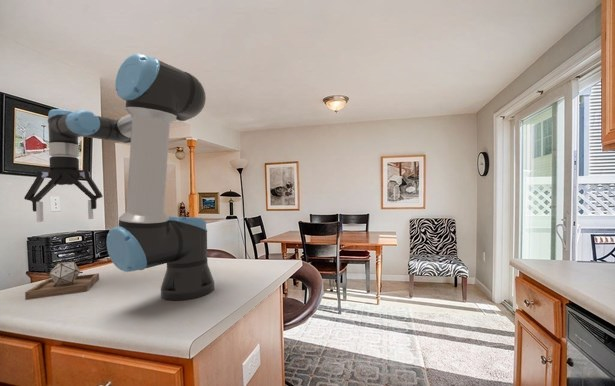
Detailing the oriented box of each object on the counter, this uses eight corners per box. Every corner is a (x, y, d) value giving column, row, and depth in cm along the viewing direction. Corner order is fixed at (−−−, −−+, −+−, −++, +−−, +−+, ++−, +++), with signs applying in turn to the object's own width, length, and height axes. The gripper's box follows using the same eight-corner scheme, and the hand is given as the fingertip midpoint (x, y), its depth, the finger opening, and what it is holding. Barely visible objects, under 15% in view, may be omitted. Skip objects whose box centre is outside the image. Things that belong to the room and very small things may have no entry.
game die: (66, 297, 94) (58, 277, 89) (45, 287, 96) (35, 268, 90) (91, 277, 102) (84, 258, 96) (71, 268, 103) (63, 249, 97)
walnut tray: (86, 291, 92) (86, 284, 92) (25, 299, 86) (25, 292, 86) (99, 279, 106) (98, 273, 106) (47, 285, 100) (46, 279, 100)
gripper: (110, 159, 105) (112, 217, 105) (21, 157, 95) (23, 222, 95) (106, 156, 98) (108, 218, 98) (8, 154, 88) (10, 223, 88)
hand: (66, 220), depth 96 cm, fingers open, 13 cm apart
